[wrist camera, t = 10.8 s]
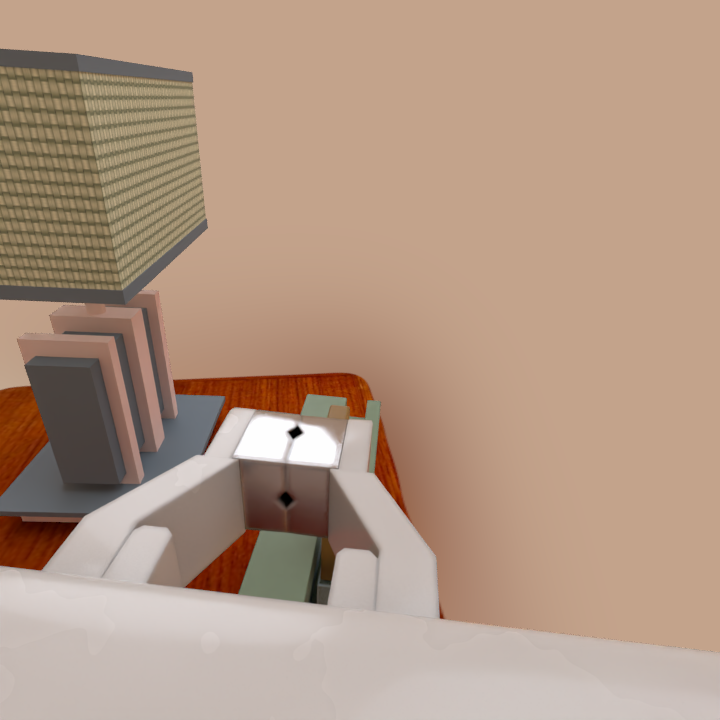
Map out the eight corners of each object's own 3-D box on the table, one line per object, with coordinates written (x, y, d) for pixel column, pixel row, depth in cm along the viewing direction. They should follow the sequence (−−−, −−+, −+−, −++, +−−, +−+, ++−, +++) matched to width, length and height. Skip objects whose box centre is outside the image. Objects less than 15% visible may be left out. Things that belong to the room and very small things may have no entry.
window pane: (350, 568, 34) (366, 328, 25) (332, 708, 26) (347, 434, 17) (336, 566, 34) (348, 327, 25) (314, 706, 27) (319, 431, 17)
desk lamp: (100, 406, 53) (11, 60, 37) (228, 410, 53) (195, 72, 37) (-9, 542, 37) (-248, 32, 21) (177, 545, 37) (82, 54, 21)
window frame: (367, 543, 38) (380, 401, 32) (325, 984, 19) (337, 862, 12) (306, 536, 39) (307, 393, 32) (206, 965, 20) (154, 835, 13)
